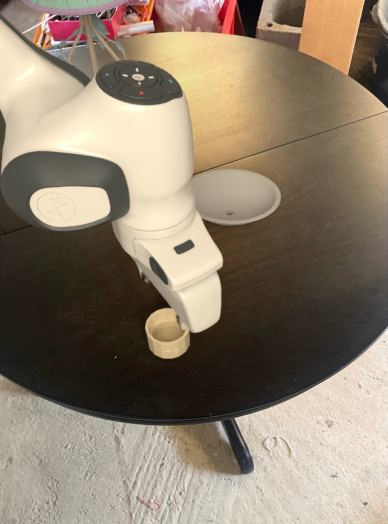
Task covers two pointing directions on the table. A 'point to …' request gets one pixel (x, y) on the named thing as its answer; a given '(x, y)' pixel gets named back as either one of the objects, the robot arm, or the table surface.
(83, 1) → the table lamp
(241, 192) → the dish
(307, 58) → the table surface
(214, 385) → the table surface
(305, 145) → the table surface
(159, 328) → the beige cup
